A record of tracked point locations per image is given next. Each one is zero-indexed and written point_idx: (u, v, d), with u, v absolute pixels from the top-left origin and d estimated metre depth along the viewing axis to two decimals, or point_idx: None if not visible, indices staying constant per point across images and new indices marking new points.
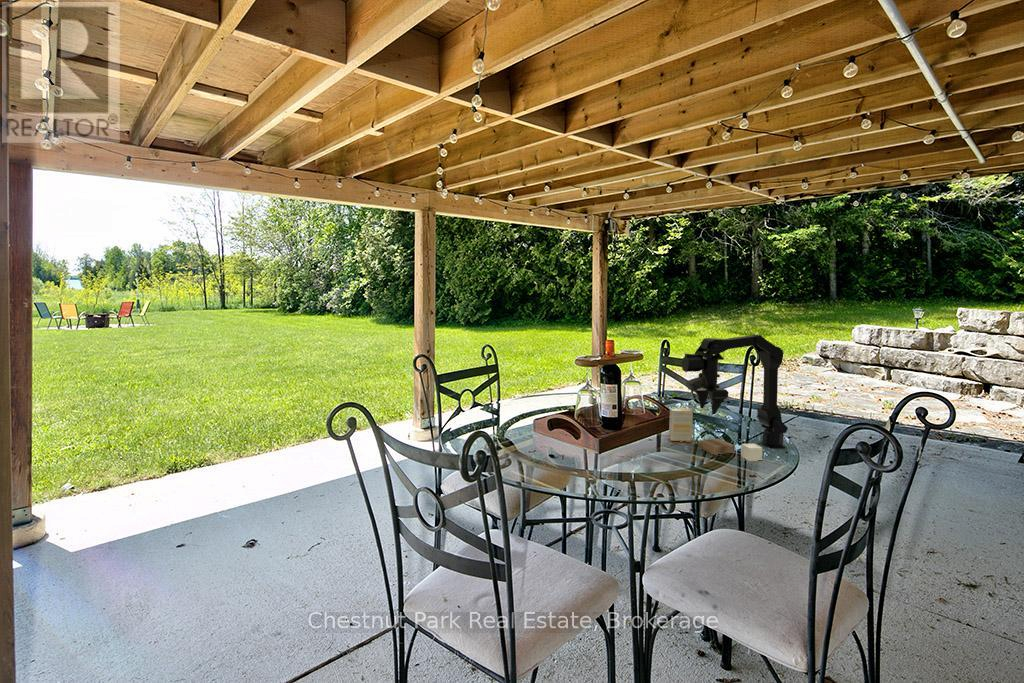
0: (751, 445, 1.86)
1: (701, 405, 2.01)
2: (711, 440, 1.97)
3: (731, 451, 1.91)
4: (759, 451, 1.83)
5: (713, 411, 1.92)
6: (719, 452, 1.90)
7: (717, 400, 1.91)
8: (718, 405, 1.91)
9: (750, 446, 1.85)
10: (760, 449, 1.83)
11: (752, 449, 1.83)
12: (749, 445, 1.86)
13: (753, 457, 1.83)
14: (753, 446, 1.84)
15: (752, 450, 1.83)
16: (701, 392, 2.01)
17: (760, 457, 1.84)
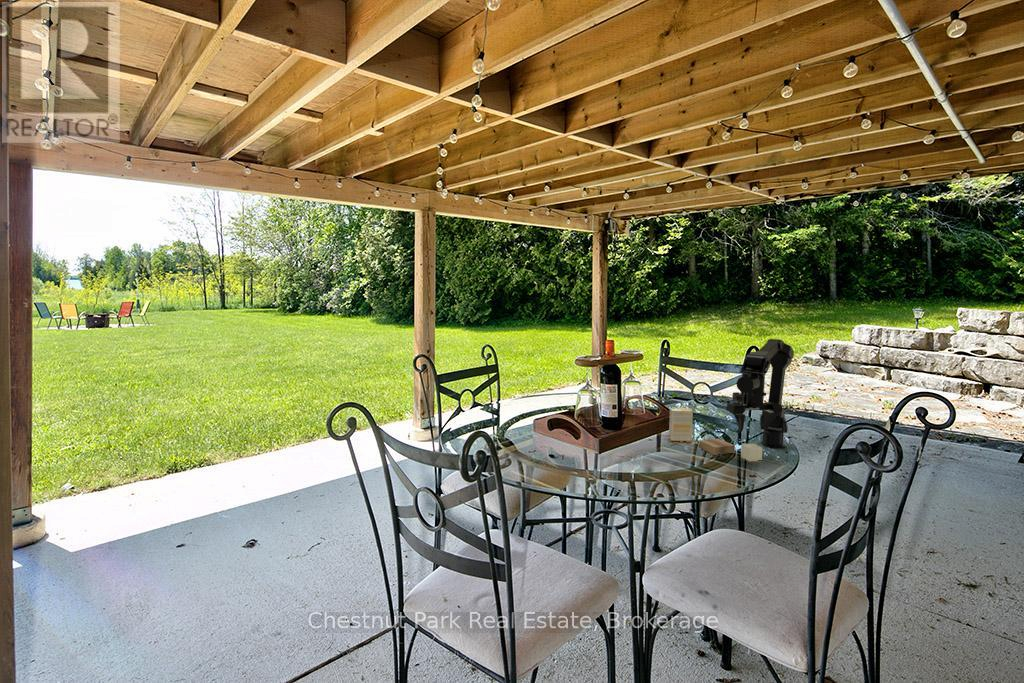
0: (751, 445, 1.86)
1: (763, 427, 1.86)
2: (711, 440, 1.97)
3: (731, 451, 1.91)
4: (759, 451, 1.83)
5: (739, 428, 1.84)
6: (719, 452, 1.90)
7: None
8: (739, 423, 1.83)
9: (750, 445, 1.85)
10: (760, 449, 1.83)
11: (752, 449, 1.83)
12: (749, 445, 1.86)
13: (753, 457, 1.83)
14: (753, 446, 1.84)
15: (752, 450, 1.83)
16: (766, 413, 1.85)
17: (760, 457, 1.84)
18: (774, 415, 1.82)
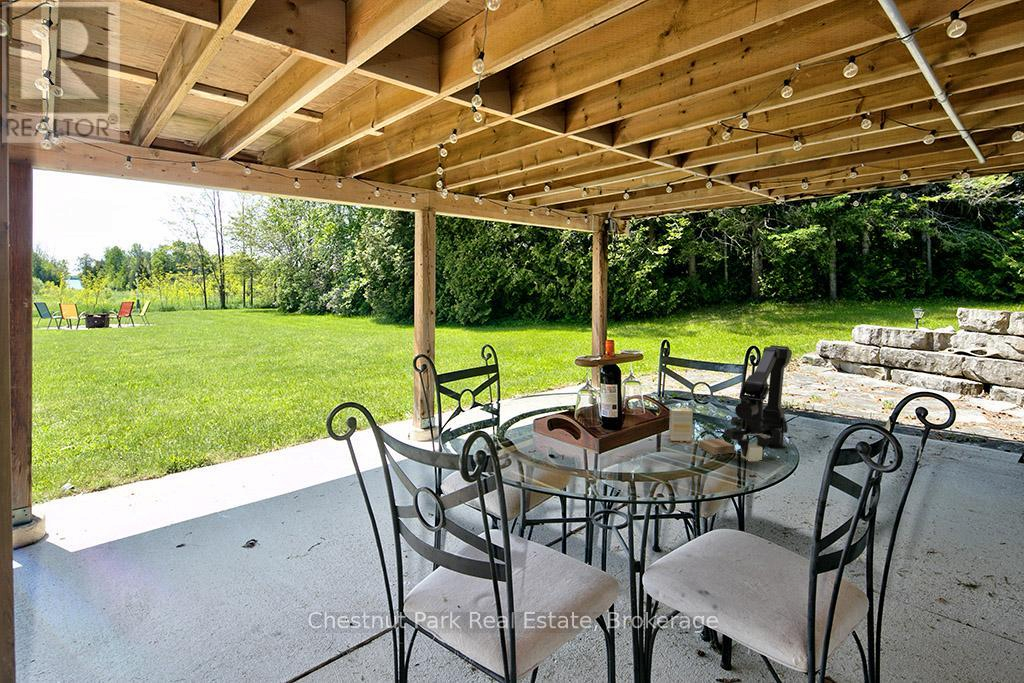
0: (751, 445, 1.86)
1: None
2: (711, 440, 1.97)
3: (731, 451, 1.91)
4: (759, 450, 1.83)
5: (743, 453, 1.86)
6: (719, 452, 1.90)
7: (743, 441, 1.84)
8: (743, 448, 1.84)
9: (750, 445, 1.85)
10: (760, 449, 1.83)
11: (752, 448, 1.83)
12: (749, 445, 1.86)
13: (753, 457, 1.83)
14: (753, 446, 1.84)
15: (752, 450, 1.83)
16: (759, 438, 1.86)
17: (760, 457, 1.84)
18: (767, 441, 1.83)
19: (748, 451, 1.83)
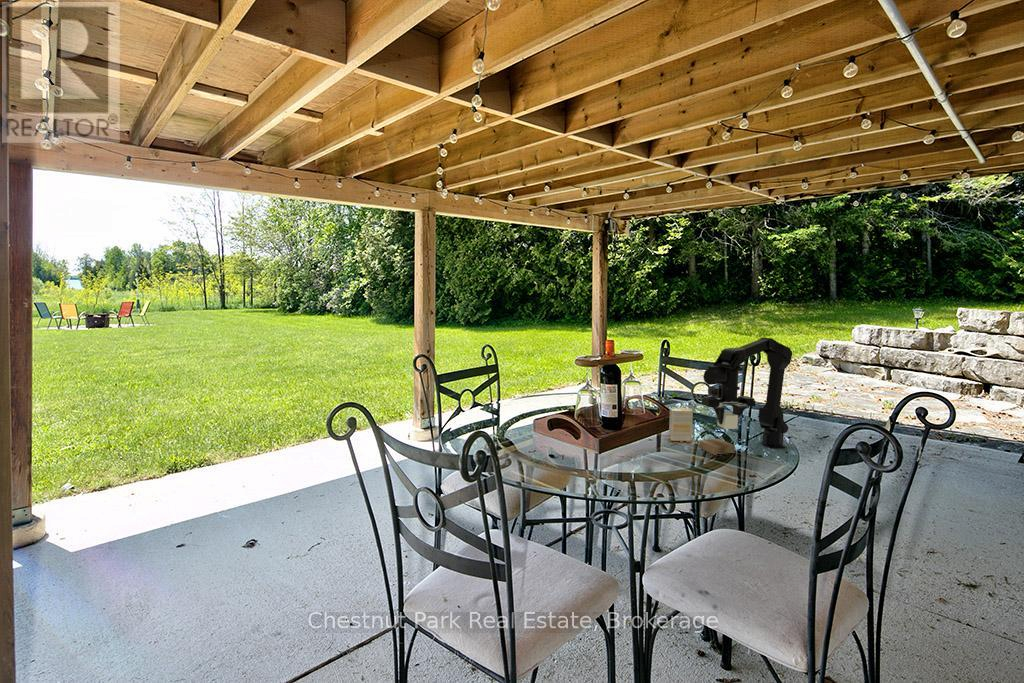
0: (727, 413, 1.91)
1: None
2: (711, 440, 1.97)
3: (731, 451, 1.91)
4: (735, 418, 1.88)
5: (719, 421, 1.91)
6: (719, 452, 1.90)
7: (719, 410, 1.89)
8: (719, 416, 1.89)
9: (726, 414, 1.90)
10: (736, 417, 1.88)
11: (728, 416, 1.88)
12: (725, 413, 1.91)
13: (729, 425, 1.88)
14: (729, 414, 1.89)
15: (728, 417, 1.88)
16: (735, 407, 1.91)
17: (736, 424, 1.89)
18: (742, 409, 1.88)
19: (724, 419, 1.88)
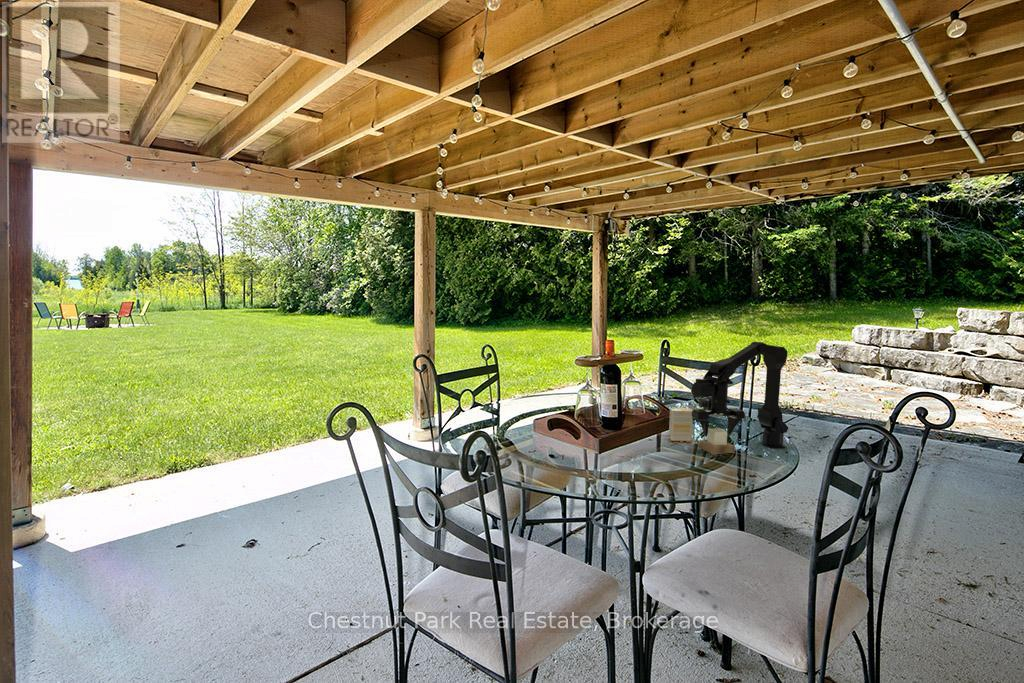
0: (717, 430, 1.94)
1: (727, 432, 1.95)
2: None
3: (731, 451, 1.91)
4: (724, 435, 1.92)
5: (704, 433, 1.94)
6: (719, 452, 1.90)
7: (704, 422, 1.92)
8: (704, 428, 1.92)
9: (716, 430, 1.94)
10: (725, 433, 1.92)
11: (717, 433, 1.91)
12: (715, 430, 1.94)
13: (718, 441, 1.92)
14: (718, 431, 1.93)
15: (717, 434, 1.91)
16: (730, 419, 1.95)
17: (725, 441, 1.92)
18: (737, 421, 1.92)
19: (713, 435, 1.92)
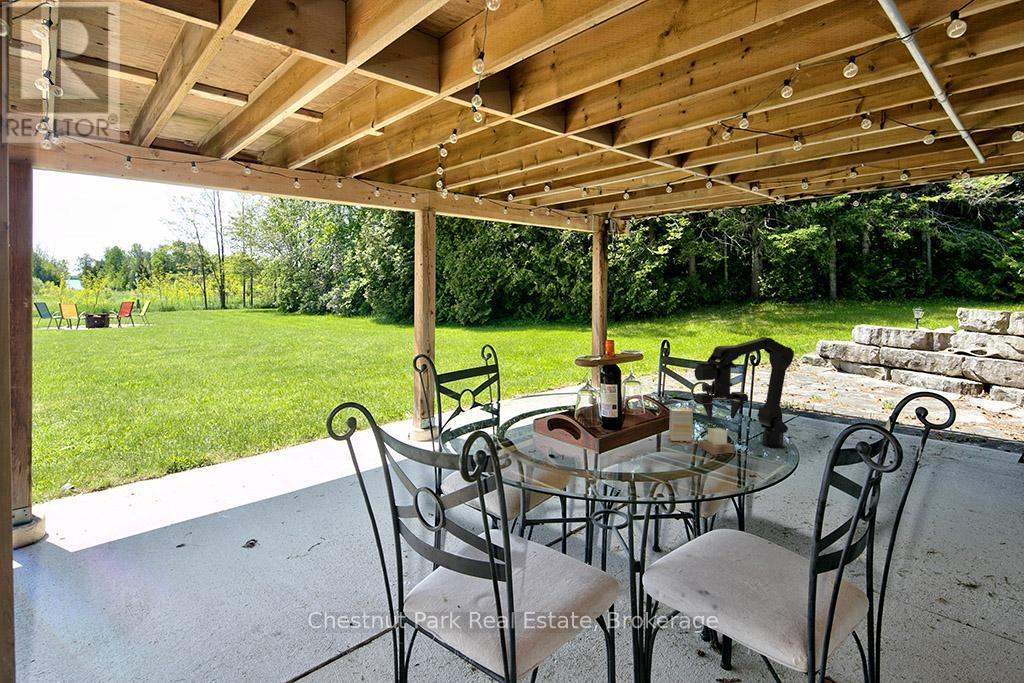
0: (717, 429, 1.95)
1: (731, 415, 1.97)
2: None
3: (731, 451, 1.91)
4: (724, 434, 1.92)
5: (708, 417, 1.95)
6: (719, 452, 1.90)
7: (708, 406, 1.94)
8: (708, 412, 1.94)
9: (716, 430, 1.94)
10: (725, 433, 1.92)
11: (717, 433, 1.92)
12: (715, 429, 1.95)
13: (718, 441, 1.92)
14: (718, 430, 1.93)
15: (717, 434, 1.92)
16: (733, 402, 1.96)
17: (725, 440, 1.92)
18: (740, 404, 1.93)
19: (713, 435, 1.92)
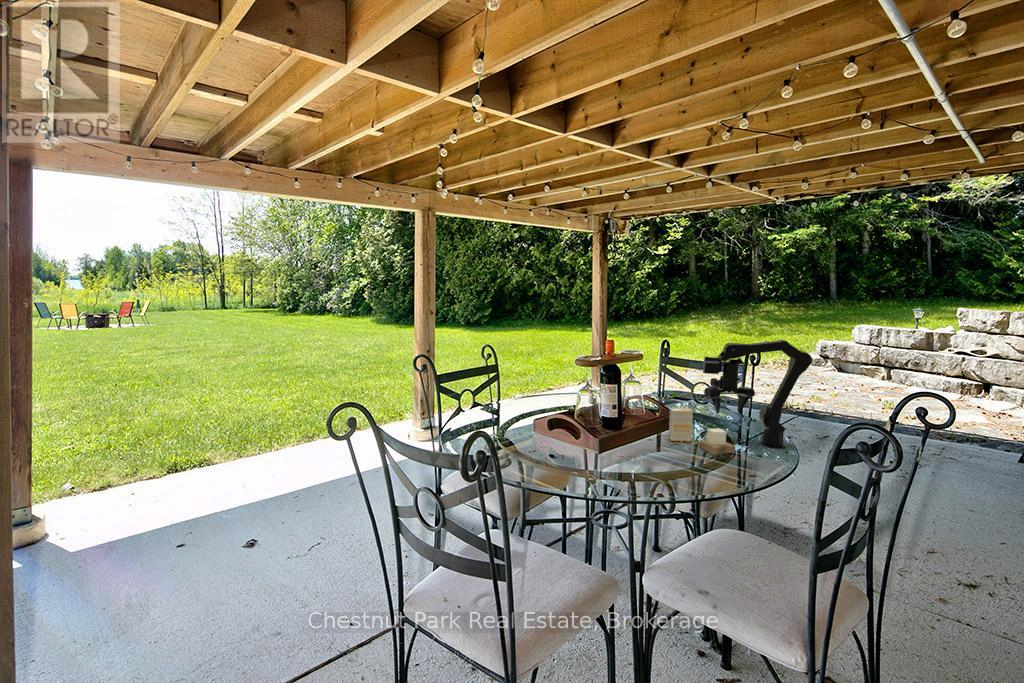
0: (716, 430, 1.94)
1: (738, 409, 2.05)
2: None
3: (731, 451, 1.91)
4: (723, 435, 1.92)
5: (716, 410, 2.04)
6: (719, 452, 1.90)
7: (716, 399, 2.03)
8: (716, 405, 2.03)
9: (715, 430, 1.94)
10: (724, 433, 1.92)
11: (716, 433, 1.91)
12: (714, 430, 1.94)
13: (717, 441, 1.92)
14: (717, 431, 1.93)
15: (716, 434, 1.91)
16: (740, 397, 2.05)
17: (724, 441, 1.92)
18: (747, 398, 2.02)
19: (712, 435, 1.92)
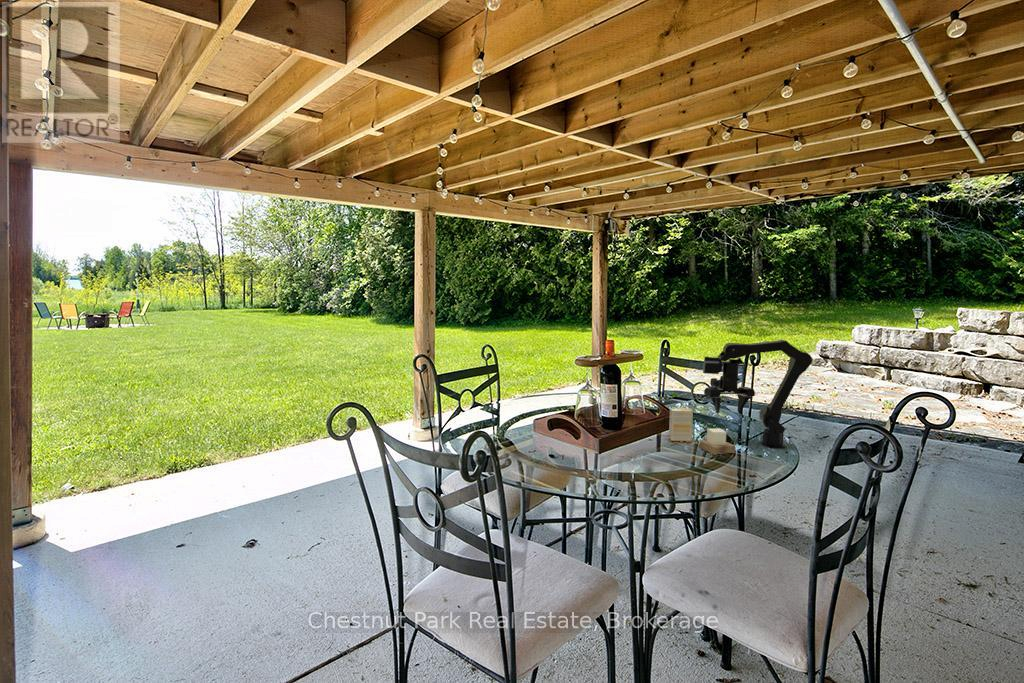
0: (716, 430, 1.94)
1: (738, 409, 2.05)
2: None
3: (731, 451, 1.91)
4: (723, 435, 1.92)
5: (716, 410, 2.04)
6: (719, 452, 1.90)
7: (716, 399, 2.03)
8: (716, 405, 2.03)
9: (715, 430, 1.94)
10: (724, 433, 1.92)
11: (716, 433, 1.91)
12: (714, 430, 1.94)
13: (717, 441, 1.92)
14: (717, 431, 1.93)
15: (716, 434, 1.91)
16: (740, 397, 2.05)
17: (724, 441, 1.92)
18: (747, 398, 2.02)
19: (712, 435, 1.92)
